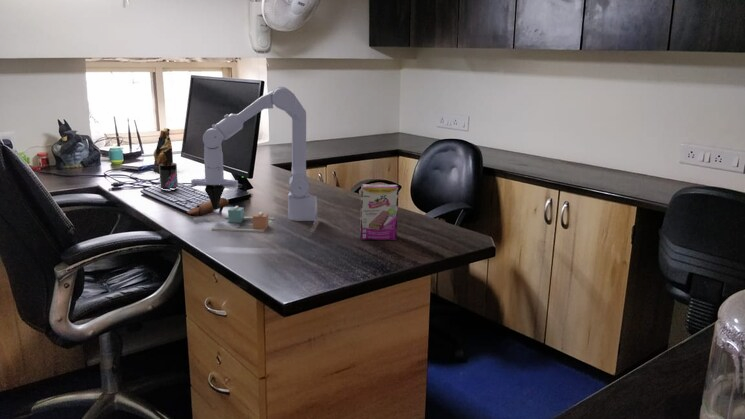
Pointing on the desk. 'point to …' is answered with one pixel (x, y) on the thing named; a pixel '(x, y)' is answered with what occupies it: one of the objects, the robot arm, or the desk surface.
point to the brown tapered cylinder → (207, 207)
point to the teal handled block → (236, 214)
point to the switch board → (242, 227)
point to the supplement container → (168, 175)
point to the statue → (163, 150)
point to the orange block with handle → (260, 220)
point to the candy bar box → (378, 212)
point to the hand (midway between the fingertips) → (215, 208)
